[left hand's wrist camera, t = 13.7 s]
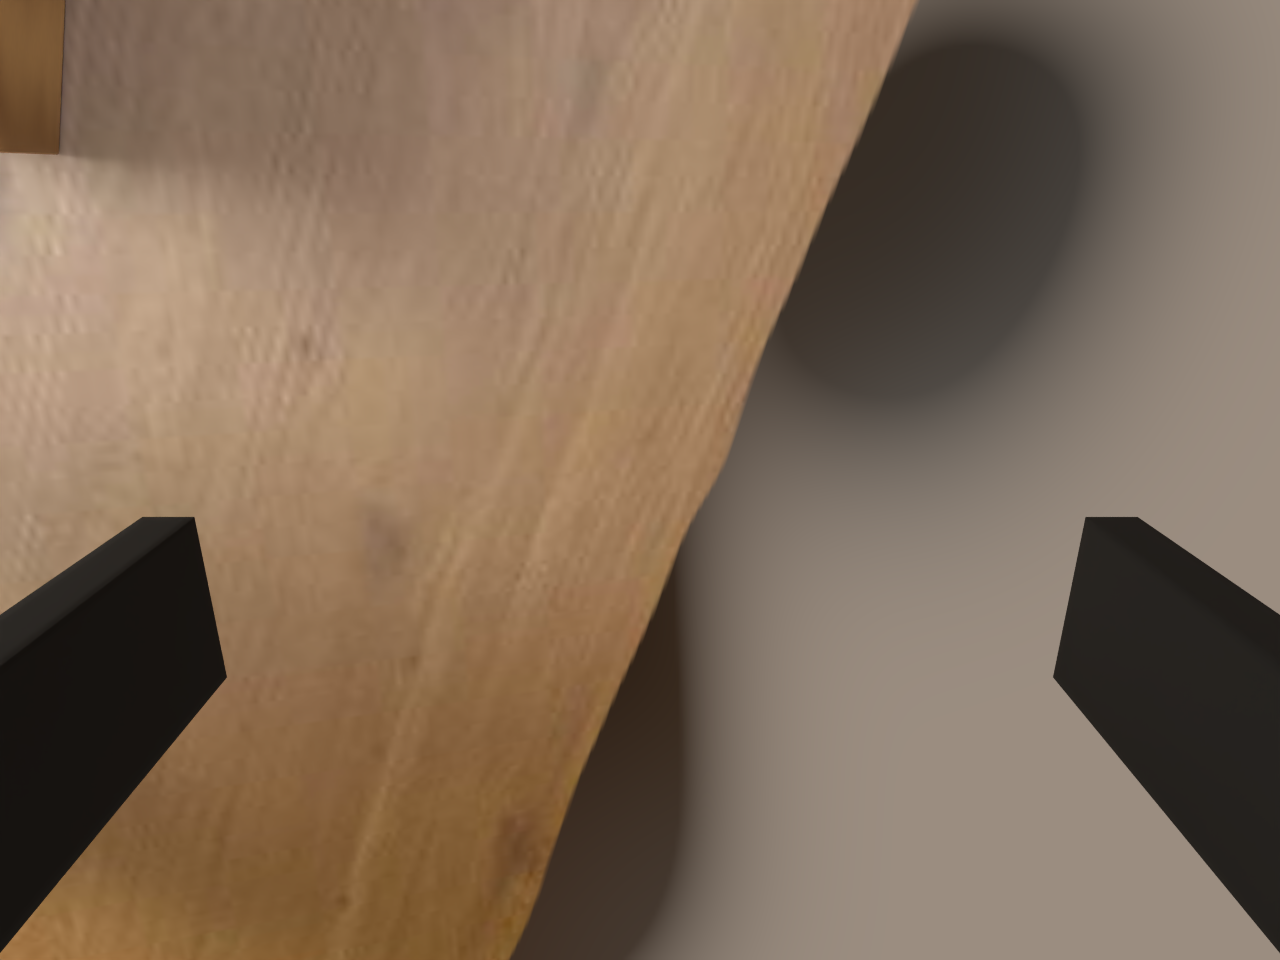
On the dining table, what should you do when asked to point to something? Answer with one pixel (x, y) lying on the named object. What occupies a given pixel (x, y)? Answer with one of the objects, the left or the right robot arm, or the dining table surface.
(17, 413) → the dining table surface
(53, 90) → the bar
